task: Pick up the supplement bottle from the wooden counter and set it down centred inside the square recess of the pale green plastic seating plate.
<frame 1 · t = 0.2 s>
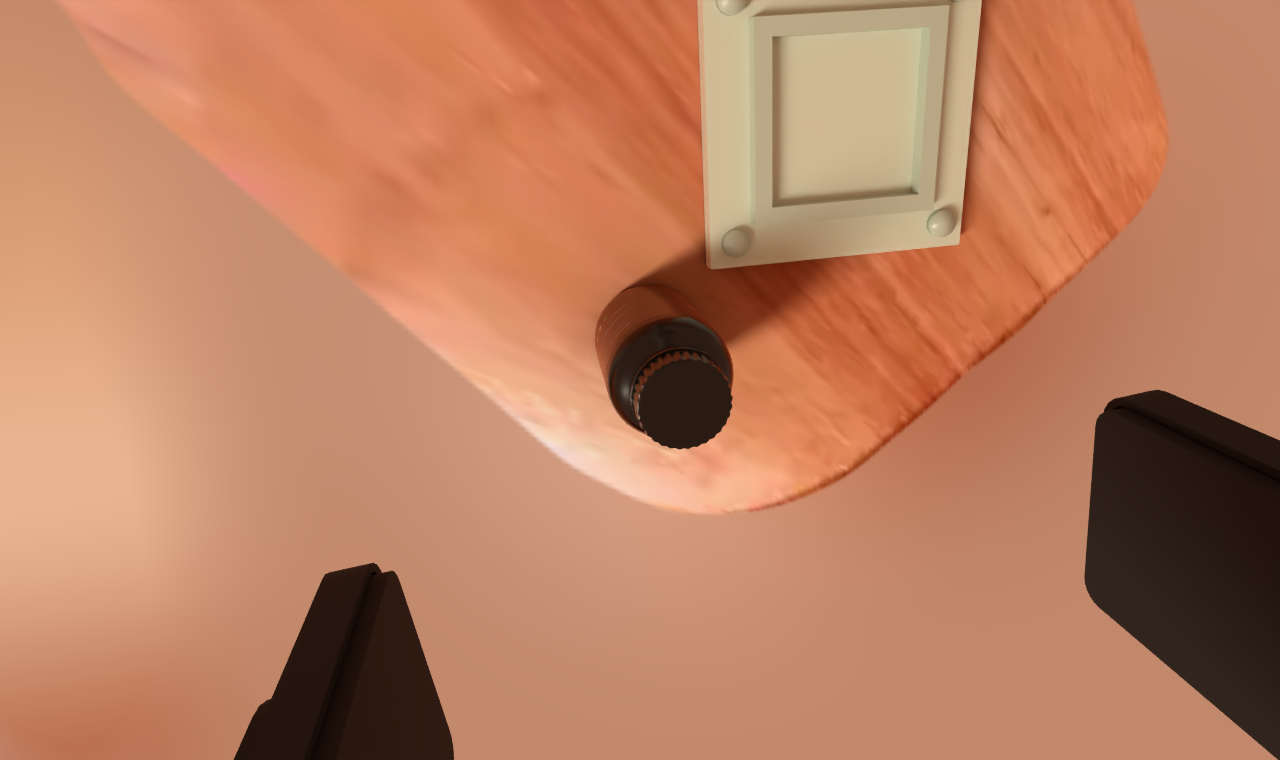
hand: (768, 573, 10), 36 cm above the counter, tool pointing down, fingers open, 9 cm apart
seating plate: (833, 118, 43), on the counter
supplement bottle: (645, 333, 46), on the counter
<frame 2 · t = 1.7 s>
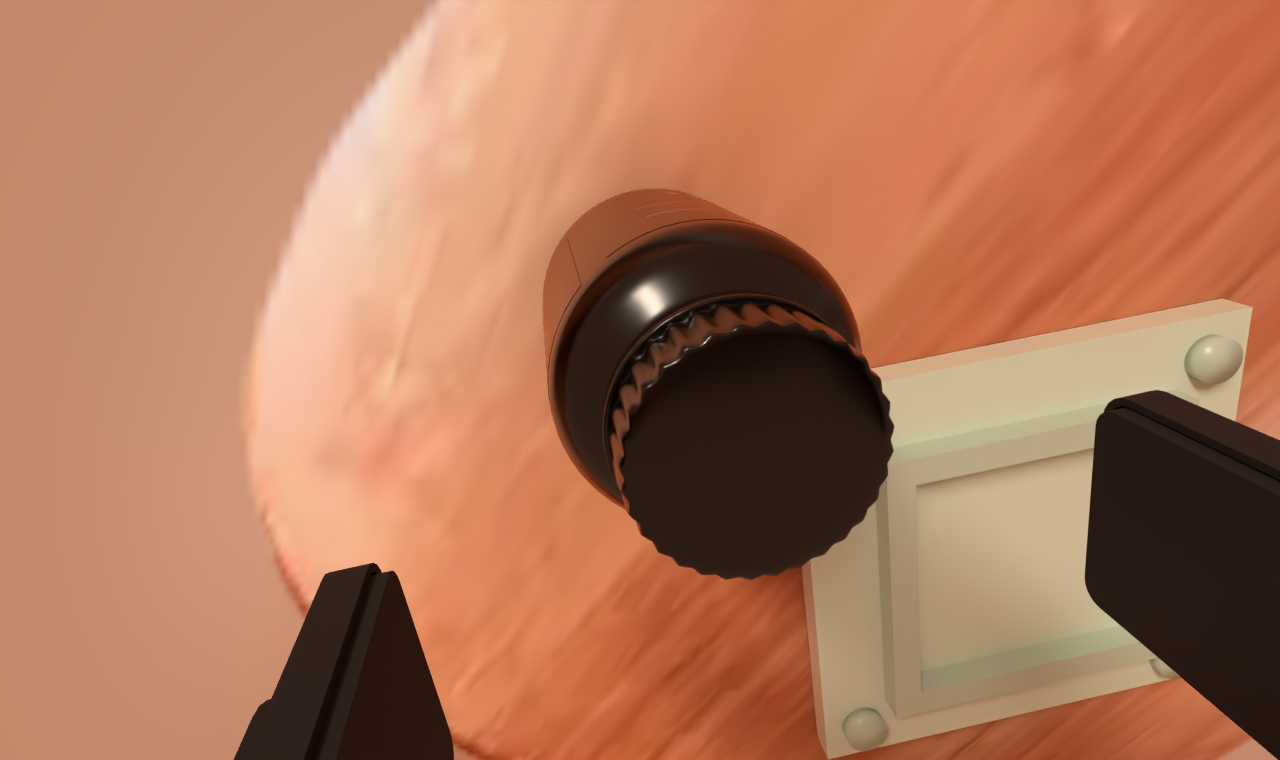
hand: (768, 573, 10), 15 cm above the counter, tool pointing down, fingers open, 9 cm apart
seating plate: (1002, 535, 28), on the counter
supplement bottle: (650, 292, 23), on the counter
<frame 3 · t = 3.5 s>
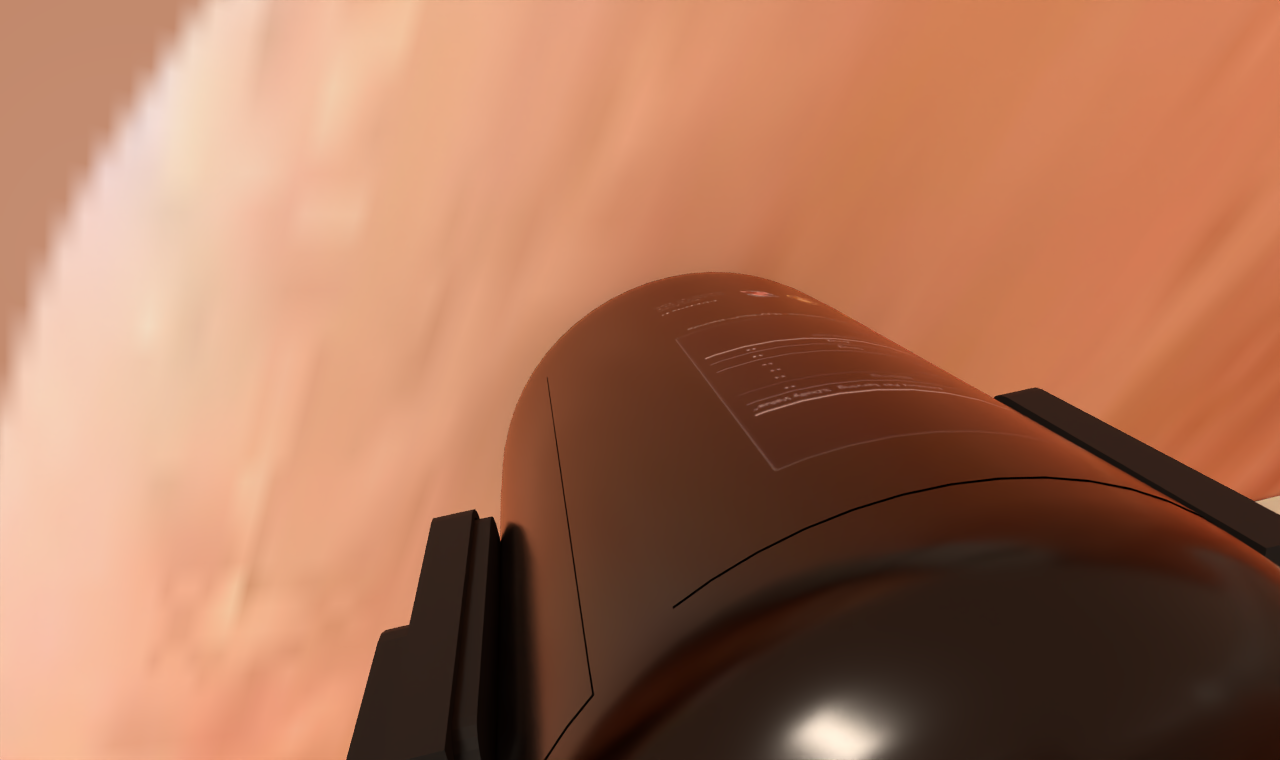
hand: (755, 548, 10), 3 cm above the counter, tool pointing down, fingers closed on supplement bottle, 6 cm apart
supplement bottle: (695, 444, 13), on the counter, touching gripper
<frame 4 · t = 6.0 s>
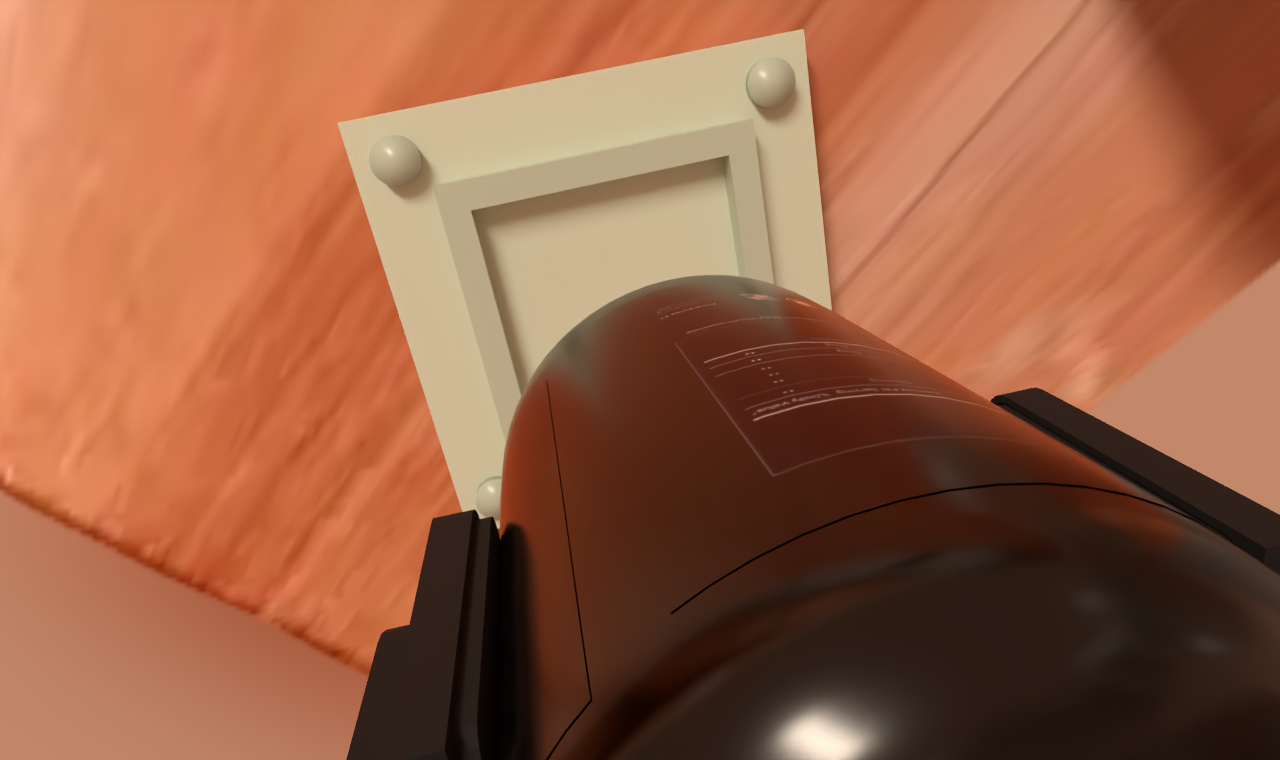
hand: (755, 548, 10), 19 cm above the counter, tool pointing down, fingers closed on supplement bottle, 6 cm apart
seating plate: (619, 295, 29), on the counter
supplement bottle: (694, 447, 13), point 16 cm above the counter, touching gripper
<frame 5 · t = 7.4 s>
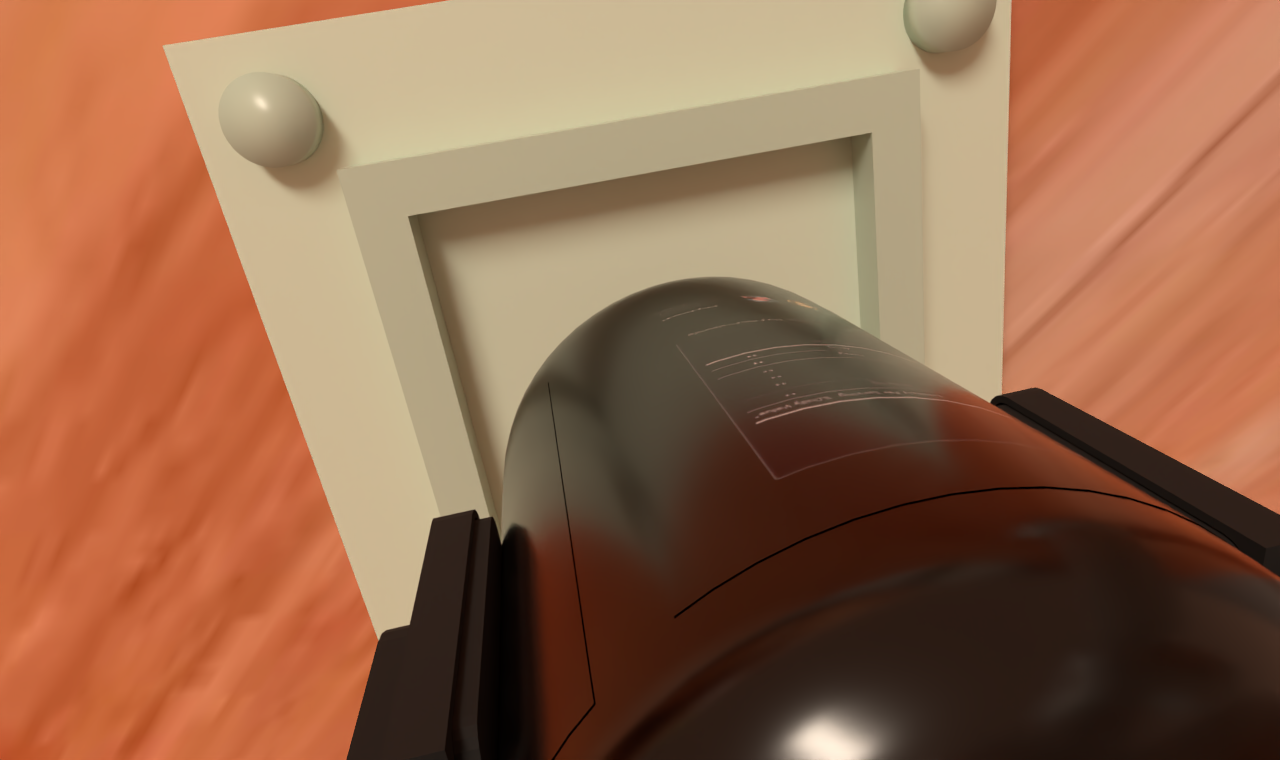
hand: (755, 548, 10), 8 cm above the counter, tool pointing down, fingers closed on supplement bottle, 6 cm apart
seating plate: (660, 357, 18), on the counter
supplement bottle: (696, 448, 13), point 5 cm above the counter, touching gripper
when the fingers open (5 cm above the counter, at t = 8.7 s): supplement bottle stays where it is, resting on seating plate.
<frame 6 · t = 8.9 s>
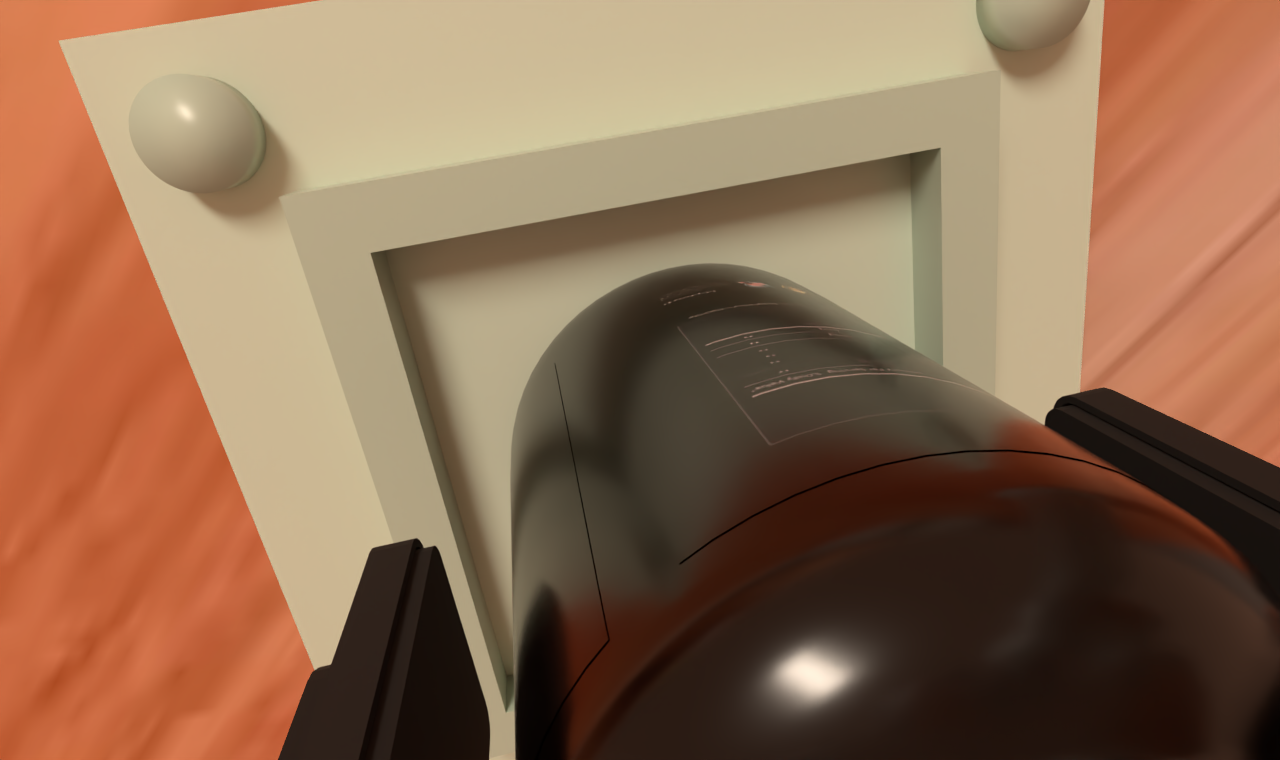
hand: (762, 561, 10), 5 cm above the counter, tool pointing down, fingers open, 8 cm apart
seating plate: (677, 410, 15), on the counter
supplement bottle: (693, 428, 14), point 1 cm above the counter, touching seating plate
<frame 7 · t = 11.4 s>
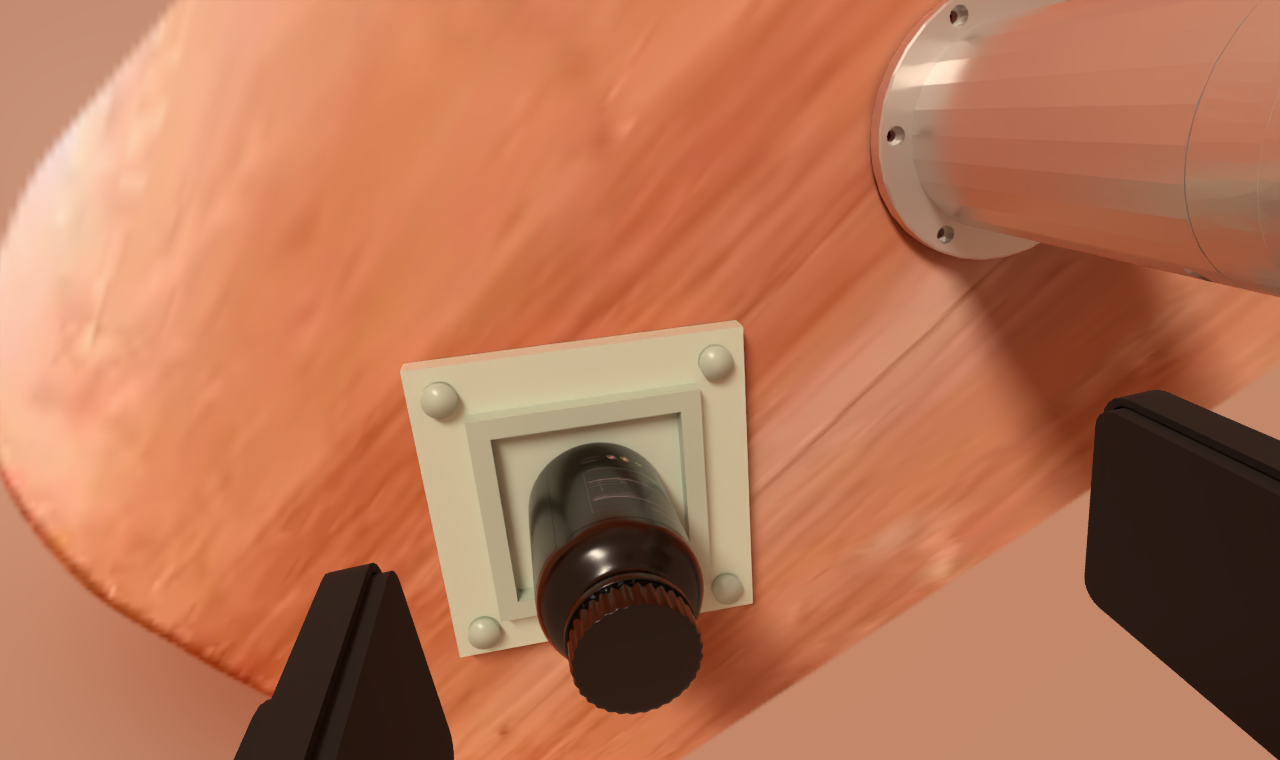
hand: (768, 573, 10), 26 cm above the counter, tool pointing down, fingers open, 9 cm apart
seating plate: (592, 488, 38), on the counter
supplement bottle: (596, 496, 37), point 1 cm above the counter, touching seating plate
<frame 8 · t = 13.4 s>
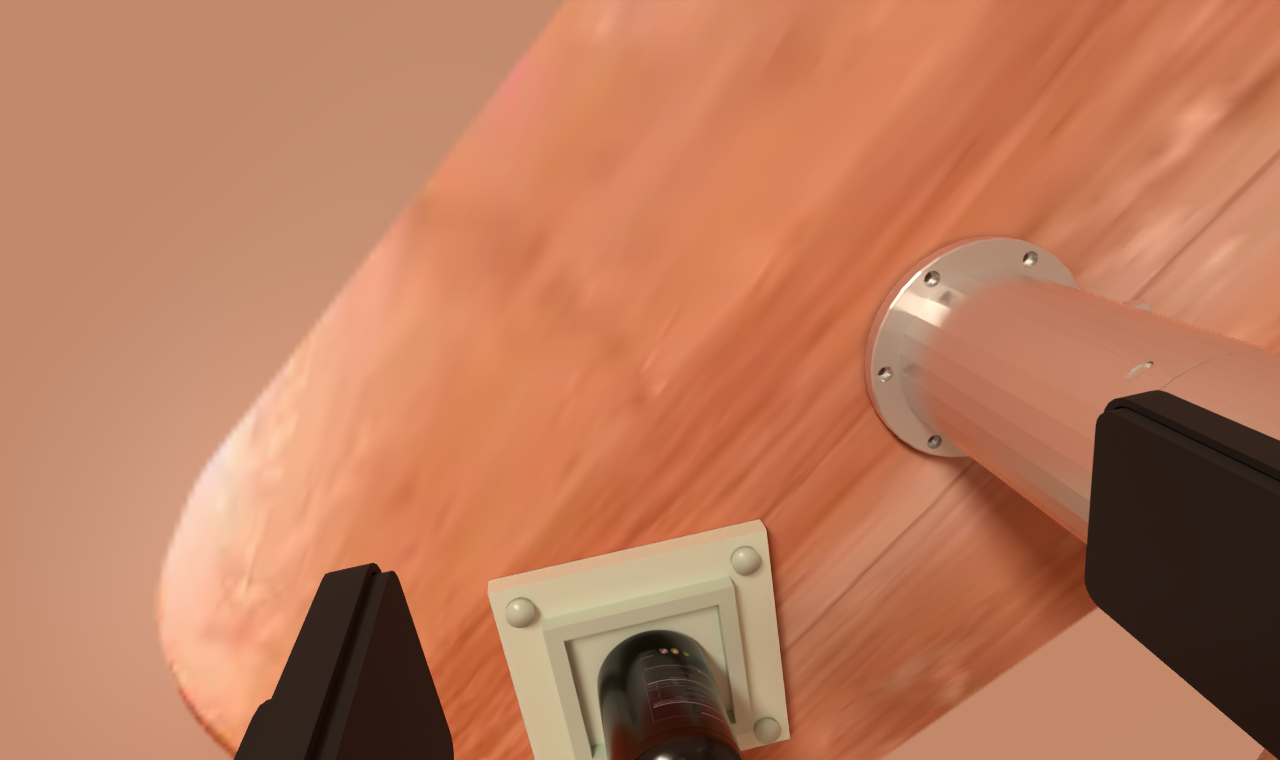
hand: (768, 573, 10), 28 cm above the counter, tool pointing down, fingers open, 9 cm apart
seating plate: (647, 658, 45), on the counter
supplement bottle: (652, 668, 44), point 1 cm above the counter, touching seating plate
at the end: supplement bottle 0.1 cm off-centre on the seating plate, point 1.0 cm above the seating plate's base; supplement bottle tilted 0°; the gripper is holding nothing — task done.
